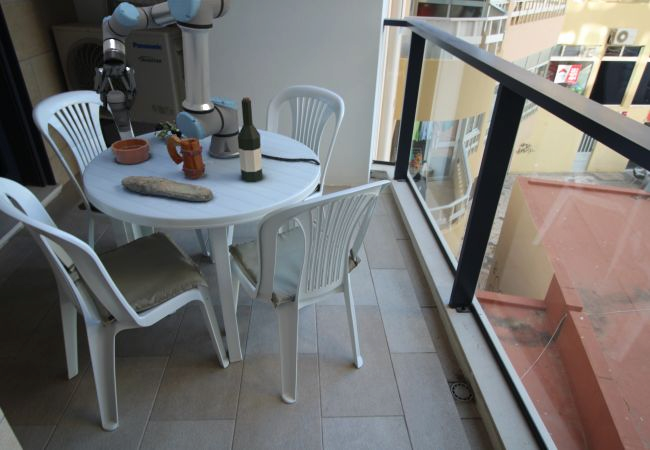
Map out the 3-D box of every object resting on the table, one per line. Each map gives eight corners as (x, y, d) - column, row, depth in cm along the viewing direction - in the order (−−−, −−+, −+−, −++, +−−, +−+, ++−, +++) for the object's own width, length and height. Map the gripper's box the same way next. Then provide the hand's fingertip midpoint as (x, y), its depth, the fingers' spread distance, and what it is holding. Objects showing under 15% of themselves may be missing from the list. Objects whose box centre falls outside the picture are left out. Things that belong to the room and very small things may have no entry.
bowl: (158, 157, 165) (155, 143, 162) (126, 167, 155) (122, 153, 152) (139, 149, 172) (136, 136, 169) (108, 158, 162) (104, 144, 159)
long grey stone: (204, 210, 131) (219, 198, 140) (203, 196, 129) (218, 184, 137) (114, 190, 137) (133, 179, 146) (111, 176, 135) (131, 166, 143)
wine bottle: (245, 183, 146) (237, 102, 130) (238, 175, 152) (230, 96, 136) (266, 179, 149) (261, 100, 133) (258, 171, 156) (253, 94, 140)
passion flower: (180, 149, 187) (192, 130, 182) (166, 153, 177) (178, 133, 172) (162, 133, 186) (173, 114, 181) (147, 137, 176) (159, 116, 171)
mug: (211, 173, 153) (206, 136, 145) (199, 182, 146) (193, 143, 138) (180, 167, 157) (173, 131, 148) (166, 175, 150) (158, 138, 142)
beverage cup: (127, 134, 152) (113, 80, 142) (110, 132, 153) (96, 79, 143) (138, 128, 158) (126, 76, 148) (122, 126, 159) (109, 75, 149)
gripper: (144, 61, 158) (147, 112, 154) (90, 62, 154) (91, 115, 149) (139, 49, 151) (142, 102, 146) (82, 49, 147) (83, 104, 142)
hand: (116, 108), depth 148 cm, fingers closed on beverage cup, 7 cm apart
